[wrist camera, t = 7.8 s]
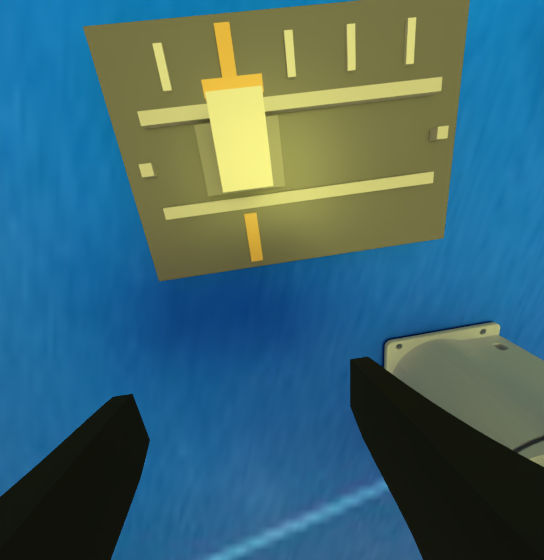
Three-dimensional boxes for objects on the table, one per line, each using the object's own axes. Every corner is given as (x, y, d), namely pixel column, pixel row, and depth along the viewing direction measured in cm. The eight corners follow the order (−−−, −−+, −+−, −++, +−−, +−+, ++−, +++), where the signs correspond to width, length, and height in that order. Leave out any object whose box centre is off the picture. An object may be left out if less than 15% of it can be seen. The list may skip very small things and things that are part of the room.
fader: (274, 114, 13) (294, 67, 8) (282, 186, 14) (303, 184, 9) (196, 124, 13) (166, 81, 8) (210, 195, 14) (192, 199, 9)
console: (447, 10, 14) (481, -20, 12) (427, 234, 18) (450, 239, 16) (100, 44, 13) (74, 18, 11) (166, 273, 17) (155, 284, 15)
